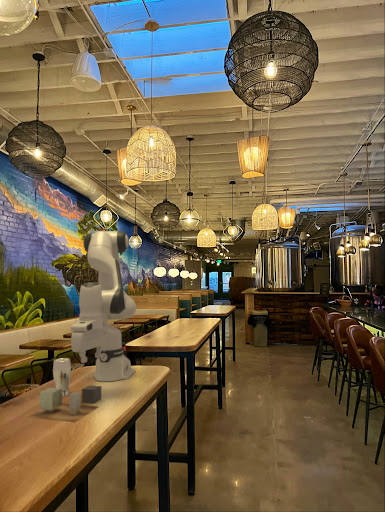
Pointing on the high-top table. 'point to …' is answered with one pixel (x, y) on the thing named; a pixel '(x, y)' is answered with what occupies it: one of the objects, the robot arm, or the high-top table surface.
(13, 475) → the high-top table surface
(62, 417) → the walnut board
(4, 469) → the high-top table surface
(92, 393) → the dark grey paneled cube
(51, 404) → the pale green block
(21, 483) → the high-top table surface
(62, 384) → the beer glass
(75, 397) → the steel post
